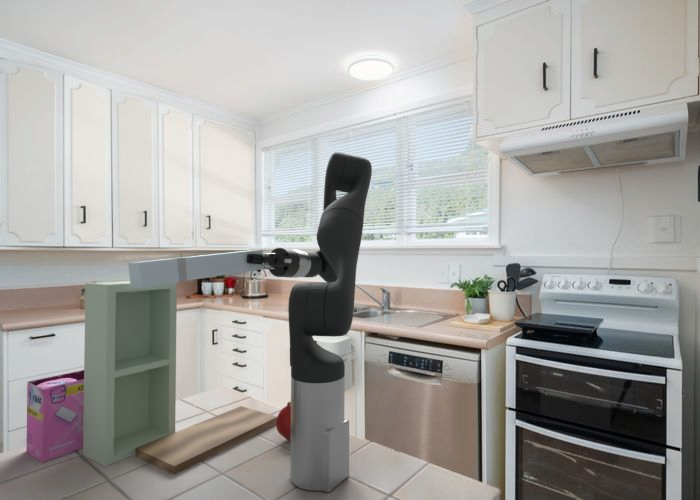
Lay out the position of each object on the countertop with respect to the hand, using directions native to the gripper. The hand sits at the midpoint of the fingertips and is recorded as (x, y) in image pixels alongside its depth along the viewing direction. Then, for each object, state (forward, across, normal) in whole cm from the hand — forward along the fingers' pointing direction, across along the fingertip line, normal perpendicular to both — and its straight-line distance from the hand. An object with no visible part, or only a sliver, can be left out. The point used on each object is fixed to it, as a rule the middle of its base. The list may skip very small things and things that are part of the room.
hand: (240, 258), depth 92 cm
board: (+5, +1, +38) cm, 38 cm away
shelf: (+16, -10, +38) cm, 43 cm away
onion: (-3, +15, +38) cm, 40 cm away
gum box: (+18, -21, +39) cm, 47 cm away
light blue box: (+8, -1, +4) cm, 10 cm away
